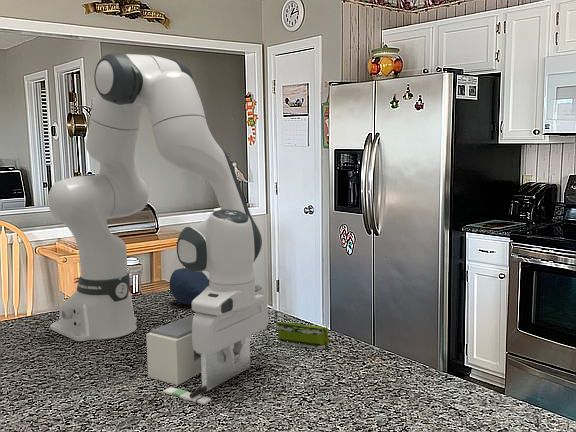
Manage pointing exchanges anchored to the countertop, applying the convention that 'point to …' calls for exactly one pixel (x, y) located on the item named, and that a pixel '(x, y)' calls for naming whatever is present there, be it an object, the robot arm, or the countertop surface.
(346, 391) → the countertop surface
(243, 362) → the plate
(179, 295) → the decorative stone
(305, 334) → the toy tank
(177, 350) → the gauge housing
